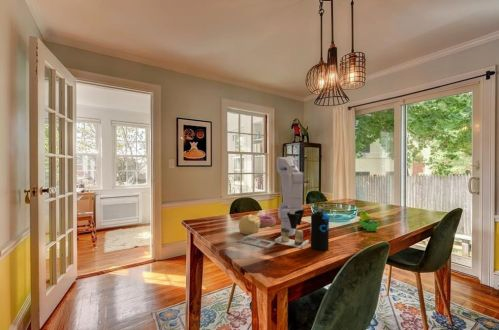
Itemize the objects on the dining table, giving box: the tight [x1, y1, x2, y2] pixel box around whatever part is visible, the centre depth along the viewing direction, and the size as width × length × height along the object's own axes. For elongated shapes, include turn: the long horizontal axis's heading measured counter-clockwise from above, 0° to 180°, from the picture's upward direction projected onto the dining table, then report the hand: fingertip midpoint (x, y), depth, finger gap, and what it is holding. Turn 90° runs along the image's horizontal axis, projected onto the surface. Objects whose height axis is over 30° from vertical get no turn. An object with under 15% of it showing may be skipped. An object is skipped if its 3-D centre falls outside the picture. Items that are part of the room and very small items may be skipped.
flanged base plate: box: [274, 235, 310, 249], centre depth 115 cm, size 9×14×3 cm, turn 58°
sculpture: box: [238, 213, 261, 236], centre depth 134 cm, size 11×12×11 cm
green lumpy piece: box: [358, 210, 380, 232], centre depth 147 cm, size 11×9×11 cm
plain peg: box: [280, 227, 290, 242], centre depth 117 cm, size 4×4×6 cm
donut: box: [256, 215, 277, 228], centre depth 154 cm, size 14×14×5 cm
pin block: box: [237, 235, 277, 249], centre depth 114 cm, size 8×16×2 cm, turn 58°
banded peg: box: [294, 229, 304, 245], centre depth 113 cm, size 4×4×6 cm
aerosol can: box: [310, 206, 330, 252], centre depth 108 cm, size 8×8×20 cm
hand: (295, 226), depth 113 cm, fingers open, 7 cm apart
